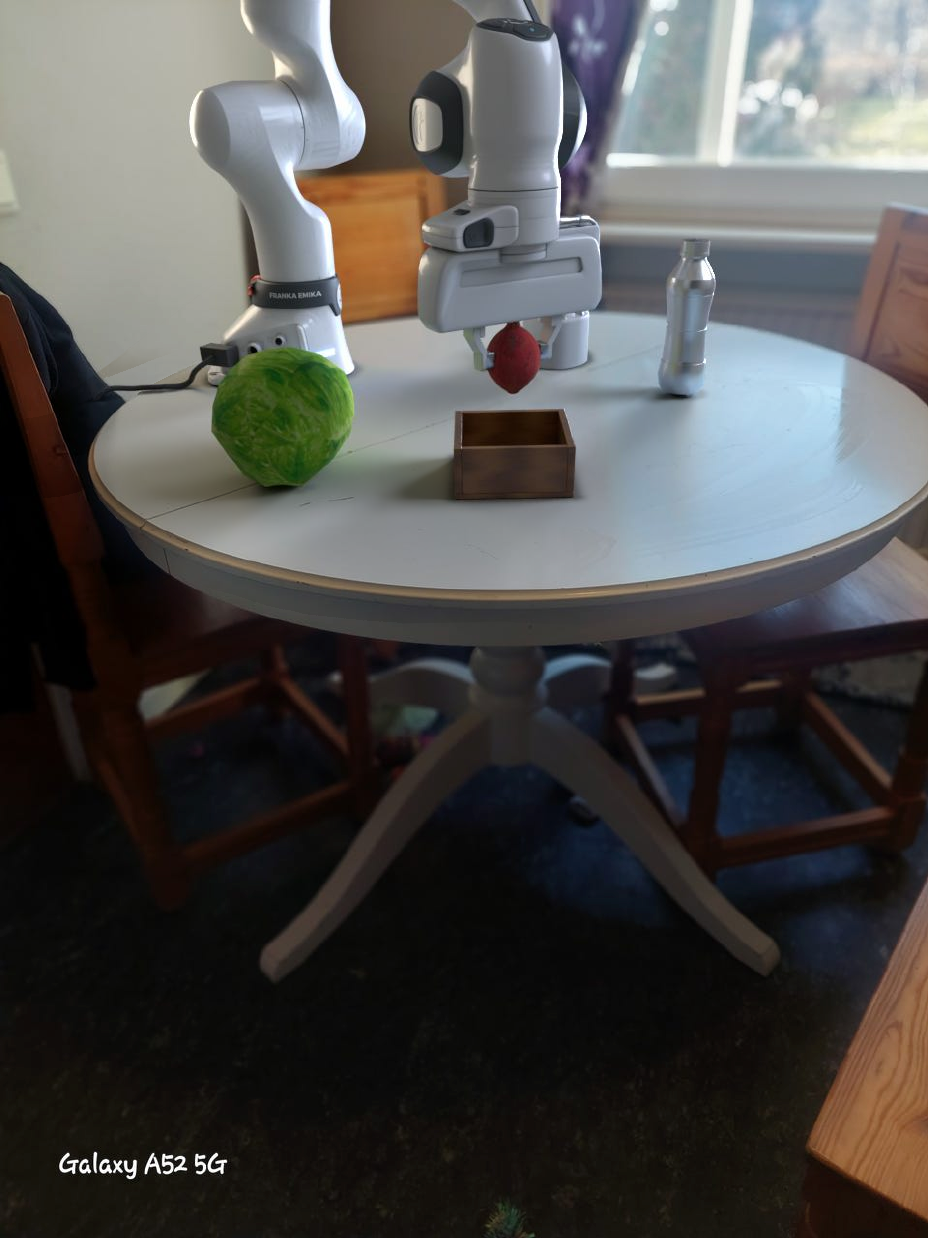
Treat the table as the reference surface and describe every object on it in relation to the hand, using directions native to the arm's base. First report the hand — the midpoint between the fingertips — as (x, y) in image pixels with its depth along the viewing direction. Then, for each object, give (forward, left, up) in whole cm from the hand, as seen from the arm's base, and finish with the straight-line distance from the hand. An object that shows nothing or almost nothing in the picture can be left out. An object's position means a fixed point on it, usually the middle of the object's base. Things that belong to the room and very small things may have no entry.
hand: (512, 364), depth 91 cm
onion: (0, 0, -3) cm, 3 cm away
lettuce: (-25, +5, -13) cm, 28 cm away
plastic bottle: (+25, +30, -13) cm, 41 cm away
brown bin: (0, 0, -12) cm, 12 cm away
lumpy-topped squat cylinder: (+9, +50, -13) cm, 52 cm away
